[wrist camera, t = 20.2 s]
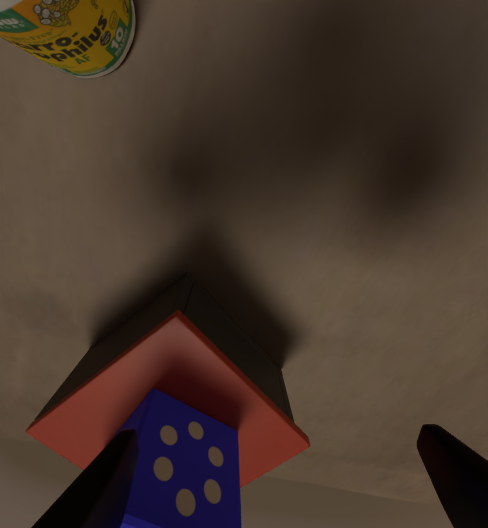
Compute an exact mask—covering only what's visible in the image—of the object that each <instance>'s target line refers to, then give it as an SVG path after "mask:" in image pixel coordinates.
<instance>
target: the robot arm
mask: <svg viewBox="0 0 488 528" xmlns="http://www.w3.org/2000/svg"><path fill="white" fill-rule="evenodd" d="M417 449H418V452H419V454H420V456H421V459H422V461H423V463H424V465H425V468H426V470H427V472H428V474H429V477H430V479H431V481H432V483H433V486H434V488H435V490H436V493H437V495H438V497H439V499H440V501H441V504H442V506H443V508H444V510H445V512H446V514H447V515H448V518H449V519H450V521H451V523H452V525H453V527H454V528H488V461H487V460H486V459H485V458H483V457H482V456H480V455H479V454H478V453H476V452H475V451H473V450H472V449H471V448H469V447H468V446H467V445H465V444H464V443H462V442H461V441H460V440H458V439H457V438H456V437H454V436H453V435H451V434H450V433H449V432H447V431H446V430H445V429H443V428H442V427H440V426H439V425H436V424H424V425H423V426H422V428H421V431H420V434H419V437H418V440H417ZM138 454H139V445H138V438H137V432H136V430H135V429H122V430H120V431H119V432H118V433H117V435H116V436H115V437H114V438H113V439H112V440H111V441H110V442H109V443H108V444H107V445H106V447H105V448H104V449H103V450H102V451H101V452H100V453H99V454H98V455H97V456H96V457H95V459H94V460H93V461H92V462H91V463H90V464H89V465H88V466H87V467H86V468H85V469H84V471H83V472H82V473H81V474H80V475H79V476H78V477H77V478H76V479H75V480H74V482H73V483H72V484H71V485H70V486H69V487H68V488H67V489H66V490H65V491H64V493H63V494H62V495H61V496H60V497H59V498H58V499H57V500H56V501H55V502H54V503H53V505H52V506H51V507H50V508H49V509H48V510H47V511H46V512H45V513H44V514H43V515H42V516H41V518H40V519H39V520H38V521H37V522H36V523H35V524H34V525H33V526H32V527H31V528H121V525H122V521H123V518H124V514H125V510H126V506H127V502H128V497H129V493H130V489H131V485H132V480H133V476H134V472H135V467H136V463H137V459H138Z"/></svg>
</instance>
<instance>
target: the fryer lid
mask: <svg viewBox="0 0 488 528" xmlns="http://www.w3.org/2000/svg"><path fill="white" fill-rule="evenodd" d="M152 389H157V390H159V391H161V392H163V393H165V394H167V395H169V396H171V397H172V398H174V399H176V400H178V401H180V402H182V403H184V404H186V405H188V406H190V407H192V408H194V409H196V410H198V411H200V412H202V413H204V414H206V415H207V416H209V417H211V418H213V419H215V420H217V421H219V422H221V423H223V424H225V425H227V426H229V427H231V428H233V429H235V430H237V431H238V441H239V471H240V488H241V487H243V486H244V485H246V484H248V483H250V482H251V481H253V480H254V479H256V478H258V477H260V476H261V475H263V474H265V473H266V472H268V471H270V470H271V469H273V468H275V467H277V466H278V465H280V464H282V463H283V462H285V461H287V460H288V459H290V458H292V457H293V456H295V455H297V454H298V453H300V452H302V451H303V450H305V449H307V448H309V447H310V442H309V439H308V436H307V435H306V434H305V433H304V432H303V431H302V430H301V429H300V428H299V427H298V426H297V425H296V424H295V423H294V422H293V421H292V420H291V419H289V418H288V417H287V416H286V415H285V414H284V413H283V412H282V411H281V410H280V409H279V408H278V407H277V406H276V405H275V404H274V403H273V402H272V401H271V400H270V399H269V398H268V397H267V396H266V395H265V394H264V393H263V392H262V391H261V390H260V389H259V388H258V387H257V386H256V385H255V384H254V383H253V382H252V381H251V380H250V379H249V378H248V377H247V376H246V375H245V374H244V373H243V372H242V371H241V370H240V369H239V368H238V367H237V366H236V365H235V364H234V363H232V362H231V361H230V360H229V359H228V358H227V357H226V356H225V355H224V354H223V353H222V352H221V351H220V350H219V349H218V348H217V347H216V346H215V345H214V344H213V343H212V342H211V341H210V340H209V339H208V338H207V337H206V336H205V335H204V334H203V333H202V332H201V331H200V330H199V329H198V328H197V327H196V326H195V325H194V324H193V323H192V322H191V321H190V320H189V319H188V318H187V317H186V316H185V315H184V314H183V313H182V312H181V311H180V310H177V311H175V312H174V313H173V314H171V315H170V316H169V317H168V318H166V319H165V320H164V321H162V322H161V323H160V324H158V325H157V326H156V327H155V328H153V329H152V330H151V331H149V332H148V333H147V334H146V335H144V336H143V337H142V338H140V339H139V340H138V341H137V342H135V343H134V344H133V345H131V346H130V347H129V348H128V349H126V350H125V351H124V352H122V353H121V354H120V355H118V356H117V357H116V358H115V359H113V360H112V361H111V362H109V363H108V364H107V365H106V366H104V367H103V368H102V369H100V370H99V371H98V372H97V373H95V374H94V375H93V376H91V377H90V378H89V379H88V380H86V381H85V382H84V383H82V384H81V385H80V386H78V387H77V388H76V389H75V390H73V391H72V392H71V393H69V394H68V395H67V396H66V397H64V398H63V399H62V400H60V401H59V402H58V403H57V404H55V405H54V406H53V407H51V408H50V409H49V410H48V411H46V412H45V413H44V414H42V415H41V416H40V417H38V418H37V419H36V420H35V421H33V422H32V423H31V425H30V426H29V427H28V428H27V430H26V433H27V434H28V435H30V436H32V437H33V438H35V439H36V440H38V441H39V442H41V443H42V444H44V445H46V446H47V447H49V448H50V449H52V450H53V451H55V452H56V453H58V454H60V455H61V456H63V457H64V458H66V459H68V460H69V461H70V462H72V463H74V464H75V465H77V466H78V467H80V468H81V469H83V470H84V469H85V468H86V467H87V466H88V465H89V464H90V463H91V462H92V461H93V460H94V459H95V457H96V456H97V455H98V454H99V453H100V452H101V451H102V450H103V449H104V448H105V447H106V445H107V444H108V443H109V442H110V441H111V440H112V438H113V437H114V436H115V435H116V433H117V432H118V431H119V430H120V428H121V427H122V426H123V425H124V423H125V422H126V421H127V420H128V418H129V417H130V416H131V415H132V413H133V412H134V411H135V410H136V408H137V407H138V406H139V405H140V403H141V402H142V401H143V400H144V398H145V397H146V396H147V395H148V393H149V392H150V391H151V390H152Z"/></svg>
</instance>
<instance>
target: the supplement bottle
mask: <svg viewBox="0 0 488 528" xmlns="http://www.w3.org/2000/svg"><path fill="white" fill-rule="evenodd" d="M134 32H135V10H134V4H133V0H0V37H1V38H3V39H5V40H6V41H8V42H10V43H12V44H13V45H16V46H17V47H19V48H21V49H23V50H24V51H26V52H28V53H30V54H31V55H33V56H35V57H37V58H39V59H40V60H42V61H44V62H46V63H48V64H50V65H51V66H53V67H55V68H57V69H59V70H61V71H63V72H65V73H67V74H70V75H72V76H75V77H79V78H96V77H101V76H104V75H106V74H108V73H110V72H112V71H113V70H115V69H116V68H117V67H118V66H119V65H120V64H121V63H122V61H123V60H124V58H125V56H126V54H127V52H128V50H129V48H130V46H131V44H132V41H133V37H134Z"/></svg>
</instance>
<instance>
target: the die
mask: <svg viewBox="0 0 488 528" xmlns="http://www.w3.org/2000/svg"><path fill="white" fill-rule="evenodd" d="M122 429H135V430H136V432H137V438H138V445H139V454H138V459H137V463H136V467H135V472H134V476H133V480H132V485H131V489H130V493H129V497H128V502H127V506H126V510H125V514H124V518H123V521H122V525H121V528H241V502H240V471H239V441H238V431H237V430H235V429H233V428H231V427H229V426H227V425H225V424H223V423H221V422H219V421H217V420H215V419H213V418H211V417H209V416H207V415H206V414H204V413H202V412H200V411H198V410H196V409H194V408H192V407H190V406H188V405H186V404H184V403H182V402H180V401H178V400H176V399H174V398H172V397H171V396H169V395H167V394H165V393H163V392H161V391H159V390H157V389H152V390H151V391H150V392H149V393H148V395H147V396H146V397H145V398H144V400H143V401H142V402H141V403H140V405H139V406H138V407H137V408H136V410H135V411H134V412H133V413H132V415H131V416H130V417H129V418H128V420H127V421H126V422H125V423H124V425H123V426H122V427H121V428H120V430H122ZM120 430H119V431H120ZM119 431H118V432H119ZM118 432H117V433H118ZM117 433H116V435H117ZM116 435H115V436H116ZM115 436H114V437H115ZM114 437H113V438H114ZM113 438H112V439H113Z"/></svg>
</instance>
